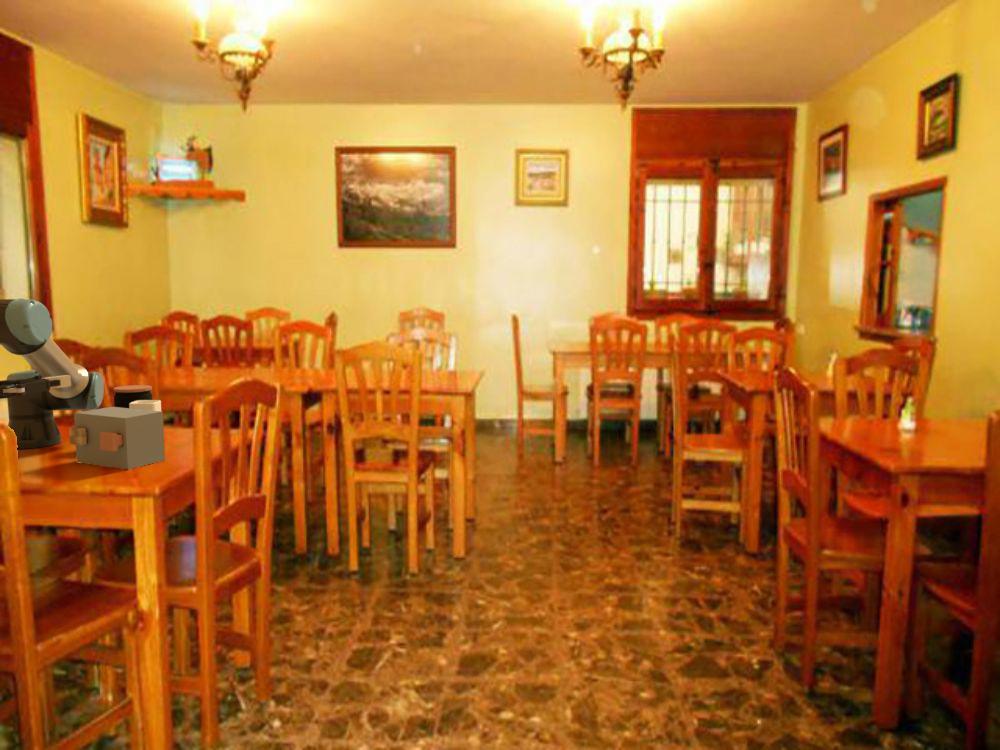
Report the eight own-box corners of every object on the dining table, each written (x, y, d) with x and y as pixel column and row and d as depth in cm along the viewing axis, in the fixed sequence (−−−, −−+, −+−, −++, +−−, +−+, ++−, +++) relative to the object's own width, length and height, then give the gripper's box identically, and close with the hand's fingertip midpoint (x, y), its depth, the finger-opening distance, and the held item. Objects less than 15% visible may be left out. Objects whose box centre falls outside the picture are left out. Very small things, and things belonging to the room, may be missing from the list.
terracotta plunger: (100, 449, 193) (99, 432, 193) (140, 441, 204) (140, 425, 204) (112, 451, 191) (111, 434, 191) (152, 442, 203) (151, 426, 202)
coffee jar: (153, 446, 224) (150, 388, 222) (114, 449, 220) (111, 390, 218) (155, 440, 234) (153, 384, 232) (118, 442, 230) (115, 385, 228)
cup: (140, 448, 222) (137, 400, 220) (164, 448, 222) (162, 399, 220) (129, 453, 214) (127, 403, 213) (155, 453, 215) (152, 403, 213)
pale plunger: (70, 444, 200) (69, 427, 200) (110, 436, 211) (109, 420, 211) (81, 445, 198) (80, 428, 198) (121, 437, 210) (121, 421, 209)
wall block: (77, 462, 203) (73, 412, 201) (115, 454, 214) (112, 406, 212) (128, 469, 195) (125, 418, 193) (165, 460, 206) (162, 411, 204)
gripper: (-49, 407, 165) (52, 393, 186) (-12, 412, 159) (87, 397, 181) (-51, 374, 164) (50, 364, 185) (-14, 377, 159) (85, 367, 180)
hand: (68, 380), depth 183 cm, fingers closed
